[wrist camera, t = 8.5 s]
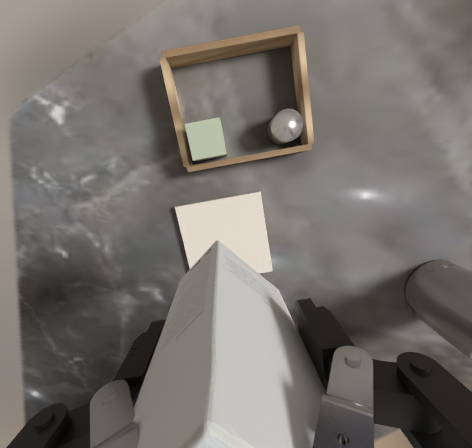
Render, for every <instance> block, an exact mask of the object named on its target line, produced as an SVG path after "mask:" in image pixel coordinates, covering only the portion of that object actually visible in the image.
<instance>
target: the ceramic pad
mask: <svg viewBox="0 0 472 448" xmlns="http://www.w3.org/2000/svg"><path fill="white" fill-rule="evenodd" d="M175 210H176V214H177V218H178V222H179V226H180V231H181V235H182V239H183V243H184V247H185V251H186V255H187V259H188V264H189V268H190V269H191V268H192V266H193V265H194V264H195V263H196V262H197V261H198V260H199V259H200V258H201V256H202V255H203V254H204V253H205V252H206V251H207V250H208V249H209V248H210V247H211V246H212V245H213V243H214V242H215V241H217V240H218V241H220V242H221V243H223V244H224V245H225V246H226V247H227V248H229V249H230V250H231V251H232V252H233V253H234V254H236V255H237V256H238V257H239V258H240V259H242V260H243V261H244V262H245V263H247V264H248V265H249V266H250V267H251V268H253V269H254V270H255V271H256V272H257V273H264V272H270V271H273V270H272V264H271V257H270V251H269V244H268V238H267V231H266V225H265V218H264V211H263V205H262V198H261V192H260V191H258V192H252V193H247V194H241V195H236V196H230V197H225V198H219V199H214V200H209V201H203V202H198V203H192V204H187V205H181V206H176V207H175Z"/></svg>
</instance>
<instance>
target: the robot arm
mask: <svg viewBox="0 0 472 448" xmlns="http://www.w3.org/2000/svg"><path fill="white" fill-rule="evenodd" d="M405 295H406V299H407V301H408V303H409V305H410V306H411V307H412V308H413V309H414V311H415V316H417V317H418V318H419V319H421V320H422V321H423V322H424V323H426V324H427V325H428V326H429V327H431V328H432V329H433V330H434V331H436V332H437V333H438V334H439V335H441V336H442V337H443V338H444V339H446V340H447V341H448V342H450V343H451V344H452V345H453V346H455V347H456V348H457V349H458V350H460V351H461V352H462V353H463V354H465V355H466V356H467V357H468V358H470V359H472V271H469V270H467V269H465V268H462V267H461V266H458V265H455V264H453V263H451V262H448V261H442V260H438V261H432V262H428V263H426V264H424V265H422V266H421V267H419V268H418V269H417V270H416V271H415V272H414V273H413V274H412V275H411V277H410V278H409V280H408V282H407V285H406V290H405ZM296 312H297V322H298V329H299V334H300V337H301V339H302V341H303V343H304V345H305V347H306V349H307V351H308V353H309V356H310V358H311V360H312V362H313V364H314V366H315V368H316V370H317V373H318V375H319V377H320V379H321V381H322V384H323V386H324V388H325V390H326V391H327V393H324V394H323V396H322V400H321V406H320V411H319V416H318V421H317V426H316V431H315V436H314V441H313V446H312V448H374V424H380V425H385V426H390V427H395V428H400V429H401V430H402V432H403V433H404V435H405V436H406V437H407V438H408V440H409V442H410V443H411V444H412V446H413V447H414V448H472V392H471V391H470V390H469V389H467V388H466V387H465V386H464V385H463V384H462V383H460V382H459V381H458V380H457V379H456V378H455V377H454V376H452V375H451V374H450V373H449V372H448V371H447V370H445V369H444V368H443V367H442V366H441V365H440V364H439V363H437V362H436V361H435V360H433V359H432V358H430V357H428V356H426V355H423V354H420V353H415V352H405V353H402V354H400V355H399V356H398V357H397V363H395V362H386V361H379V360H375V359H372V358H371V357H370V356H369V354H368V353H366V352H365V351H364V350H362V349H360V348H357V347H355V346H354V344H353V343H352V342H351V340H350V339H349V337H348V336H347V334H346V333H345V332H344V330H343V329H342V327H341V326H340V325H339V323H338V322H337V320H336V319H335V317H334V316H333V315H332V313H331V312H330V311H329V310H327V309H326V308H324V307H323V306H322V307H315V305H314V303H313V302H312V300H311V299H310V298H308V299H301V300H296ZM165 321H166V320H160V321H153V322H152V323H151V325H150V327H149V329H148V331H147V333H142V334H141V335H140V336H139V337H138V338H137V339H136V340H135V341H134V343H133V345H132V347H131V349H130V351H129V352H128V354H127V357H126V358H125V360H124V362H123V363H122V365H121V367H120V369H119V371H118V373H117V375H116V377H115V378H114V380H113V381H112V382H110V383H108V384H106V385H105V386H103V387H102V388H101V389H99V390H98V391H97V392H96V394H95V395H94V396H93V398H92V400H91V402H90V403H89V404H87V405H84V406H82V407H79V408H77V409H75V410H72V411H70V412H68V409H67V407H66V405H65V404H62V403H58V404H54V405H51V406H49V407H47V408H45V409H43V410H42V411H40V412H39V413H37V414H36V415H35V416H34V417H32V418H31V419H30V420H29V421H28V423H27V424H26V425H25V426H24V427H23V429H22V430H21V431H20V432H19V433H18V435H17V436H16V437H15V438H14V439H13V441H12V442H11V443H10V444H9V445H8V447H7V448H137V446H138V443H139V438H138V431H137V425H136V421H135V422H133V419H134V416H135V413H134V406H135V403H136V401H137V398H138V396H139V393H140V390H141V387H142V384H143V382H144V379H145V376H146V373H147V371H148V368H149V365H150V363H151V360H152V357H153V354H154V352H155V349H156V346H157V343H158V340H159V338H160V335H161V332H162V329H163V327H164V324H165Z"/></svg>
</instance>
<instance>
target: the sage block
mask: <svg viewBox="0 0 472 448" xmlns="http://www.w3.org/2000/svg"><path fill="white" fill-rule="evenodd" d="M185 128H186V132H187V137H188V141H189V146H190V151H191V155H192V160H193V161H202V160H208V159H213V158H218V157H224V156H227V154H226V148H225V143H224V137H223V132H222V126H221V121H220V118H214V119H209V120H204V121H198V122H193V123H188V124H185Z"/></svg>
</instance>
